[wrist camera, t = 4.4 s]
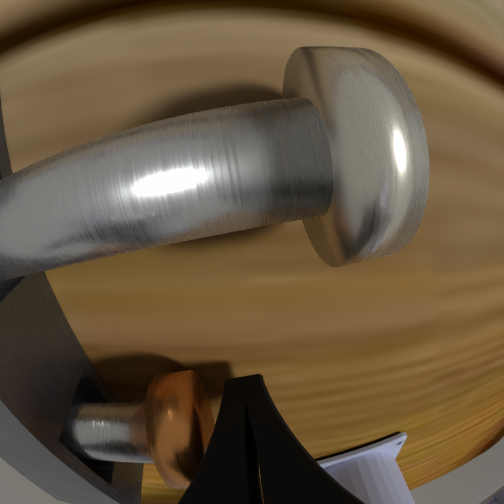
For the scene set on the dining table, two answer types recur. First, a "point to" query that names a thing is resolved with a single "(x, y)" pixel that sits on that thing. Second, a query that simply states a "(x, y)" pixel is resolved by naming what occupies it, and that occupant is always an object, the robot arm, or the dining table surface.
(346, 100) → the pin
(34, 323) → the block
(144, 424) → the pin
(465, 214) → the dining table surface
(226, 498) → the robot arm
